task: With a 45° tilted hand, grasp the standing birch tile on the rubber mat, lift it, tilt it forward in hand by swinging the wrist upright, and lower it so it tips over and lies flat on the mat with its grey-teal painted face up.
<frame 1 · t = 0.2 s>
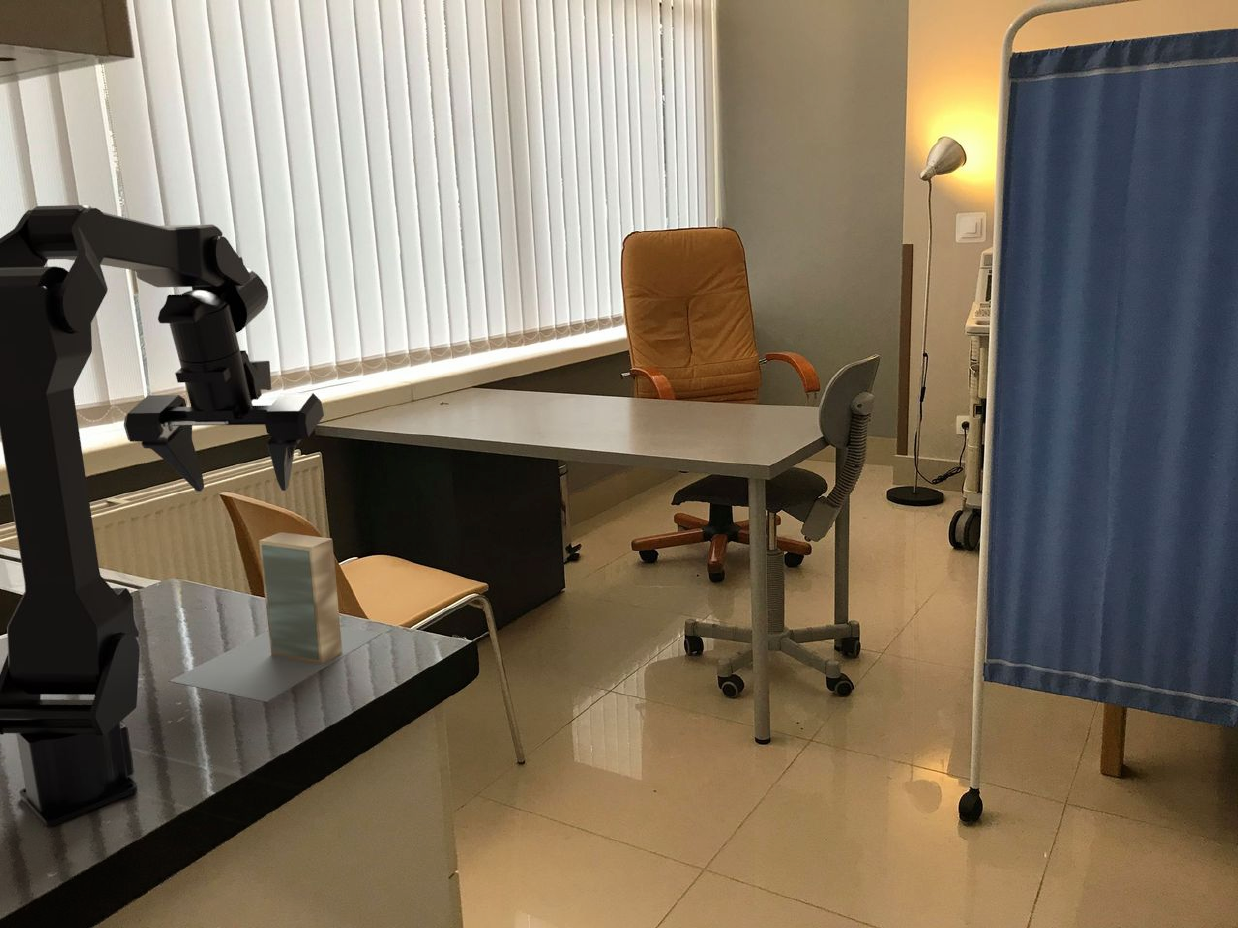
hand: (243, 489, 106), 15 cm above the counter, tool tilted 15°, fingers open, 9 cm apart
tile: (306, 653, 101), resting on mat
mat: (281, 659, 100), on the counter
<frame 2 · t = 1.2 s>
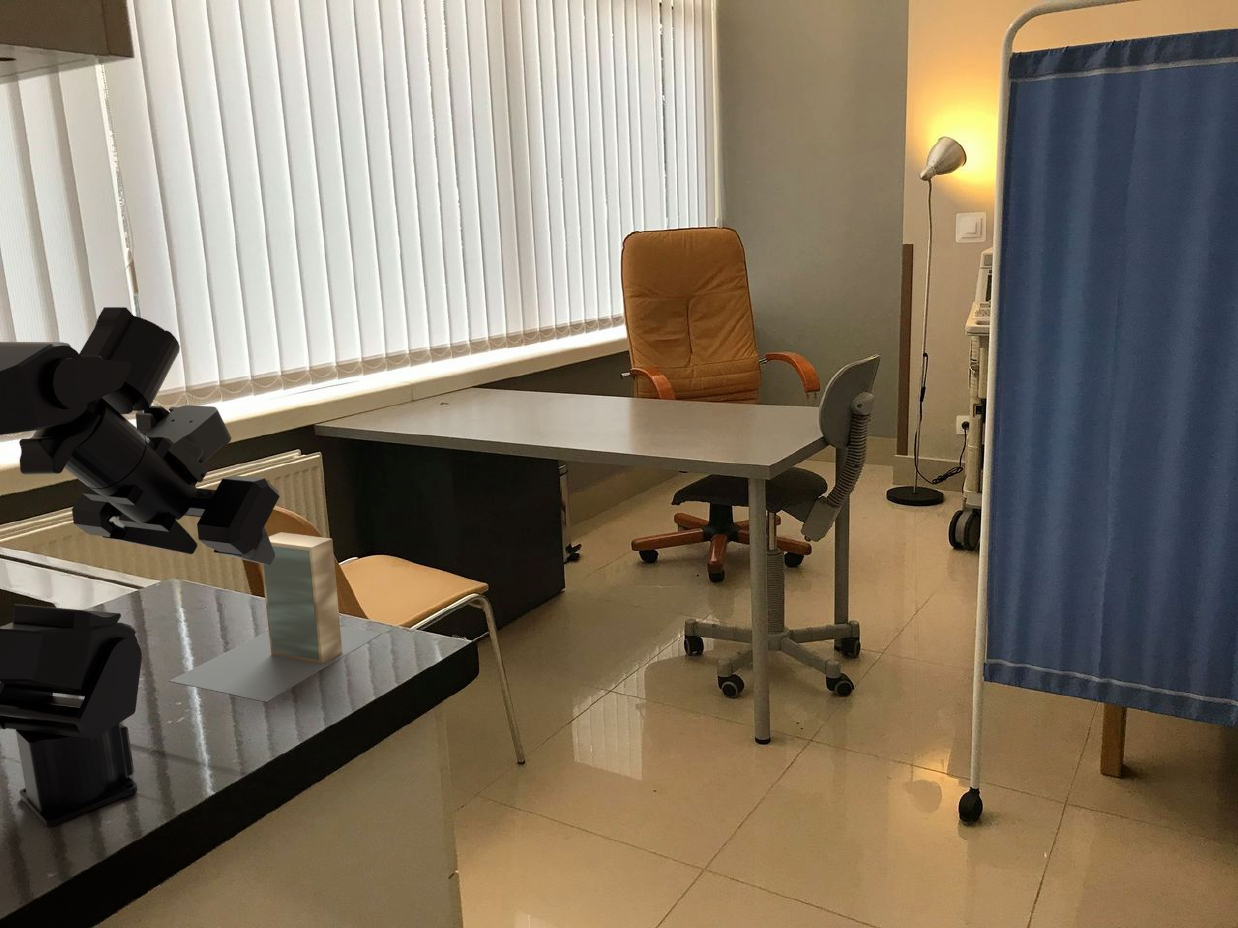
hand: (232, 554, 91), 13 cm above the counter, tool tilted 45°, fingers open, 9 cm apart
nothing on the counter moved.
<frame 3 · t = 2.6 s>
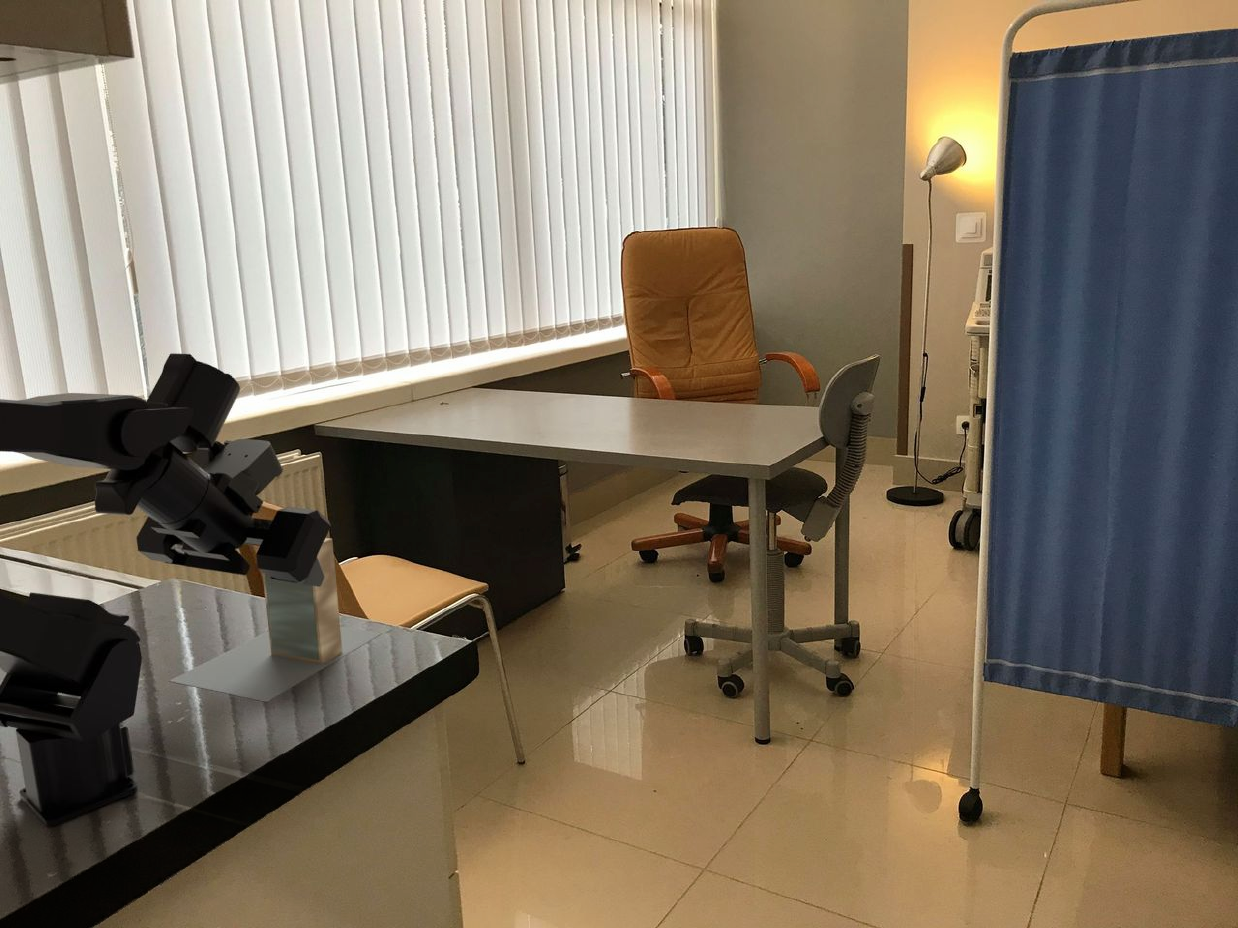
hand: (283, 576, 97), 9 cm above the counter, tool tilted 45°, fingers open, 9 cm apart
nothing on the counter moved.
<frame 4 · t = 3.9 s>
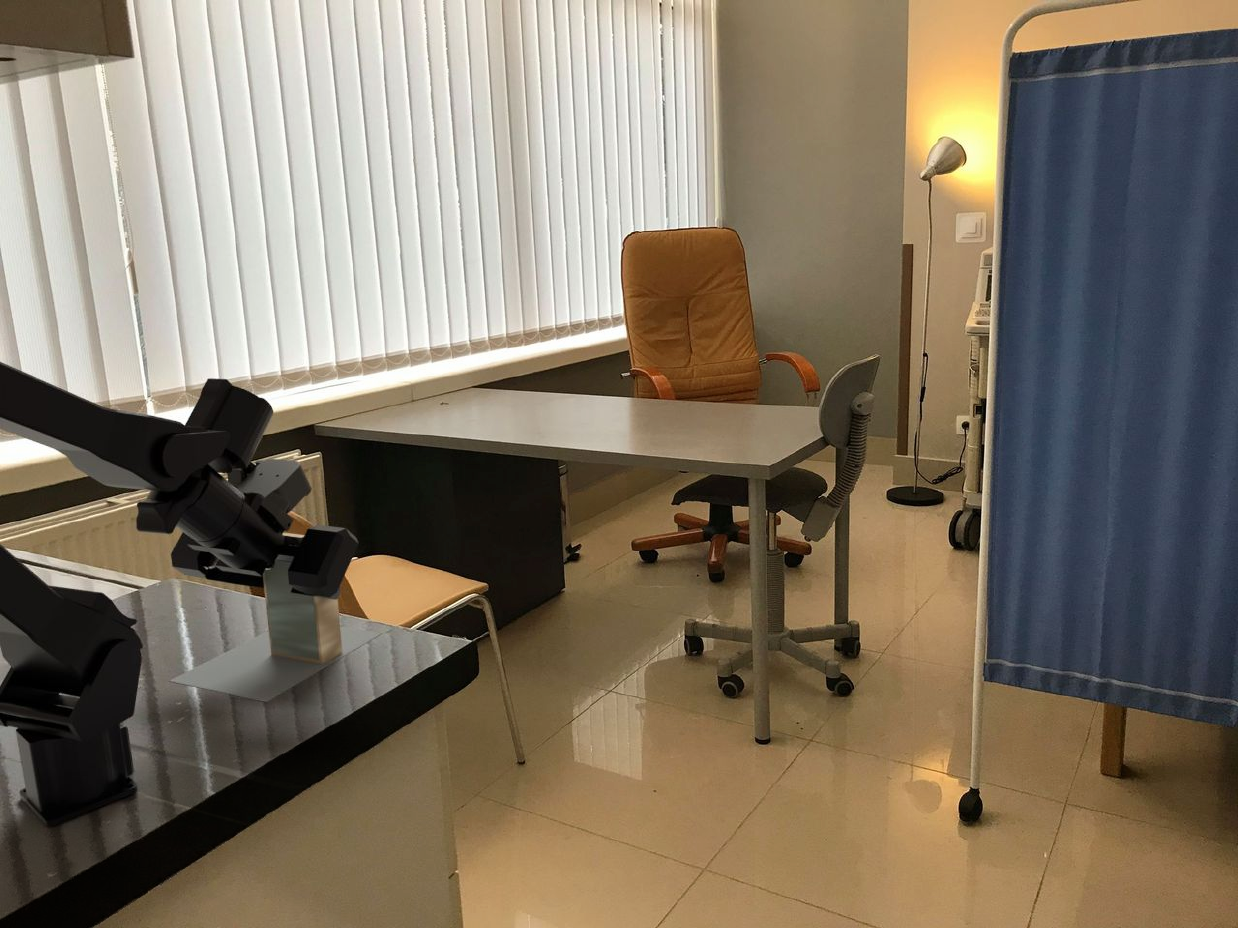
hand: (310, 590, 101), 7 cm above the counter, tool tilted 45°, fingers closed on tile, 6 cm apart
tile: (306, 653, 101), resting on mat, touching gripper
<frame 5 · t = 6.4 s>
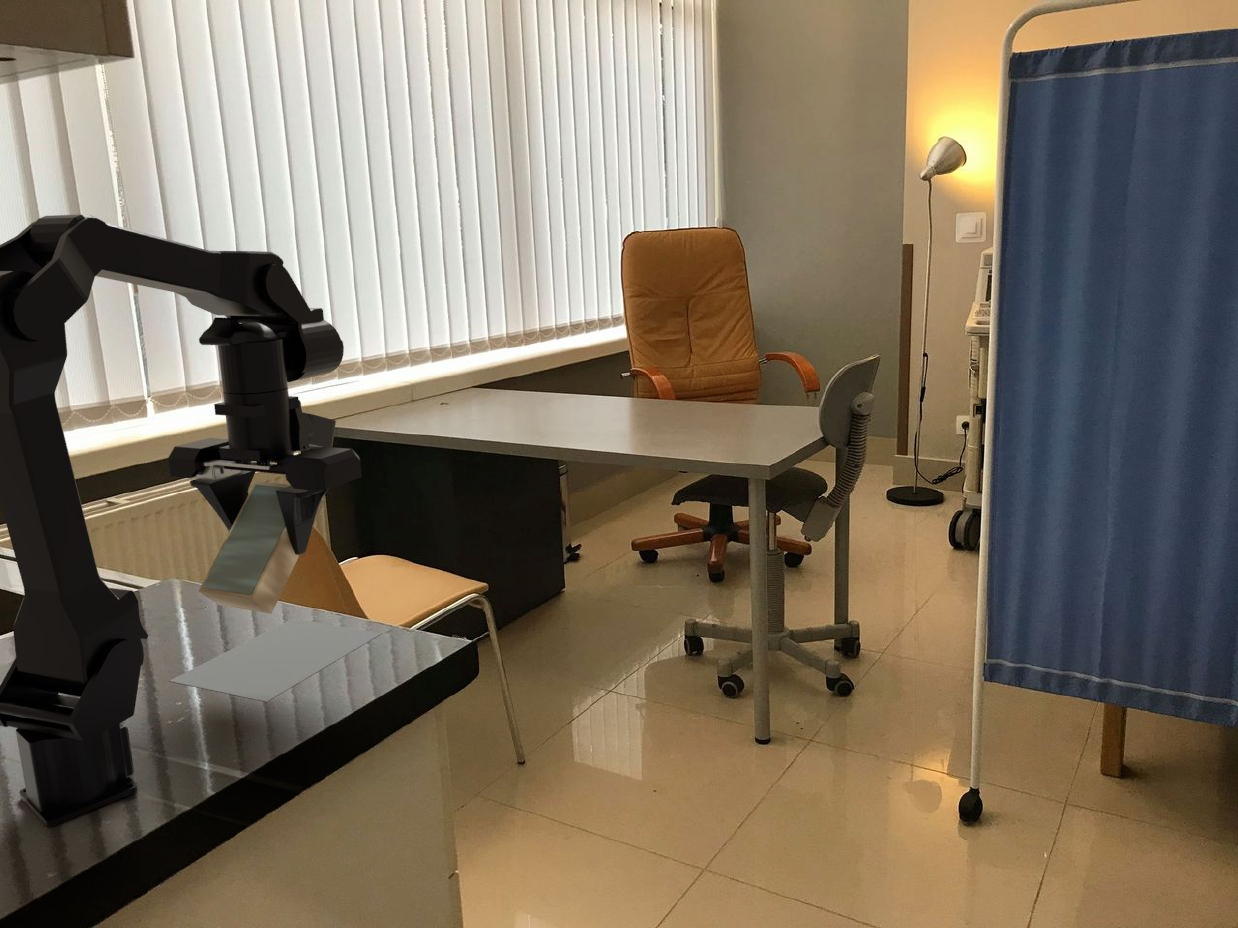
hand: (272, 549, 96), 12 cm above the counter, tool pointing down, fingers closed on tile, 6 cm apart
tile: (234, 602, 92), point 9 cm above the counter, tilted 45°, touching gripper
when the fingers open (6 cm above the counter, at t = 8.5 s): tile moves 2 cm and tips over, resting on mat.
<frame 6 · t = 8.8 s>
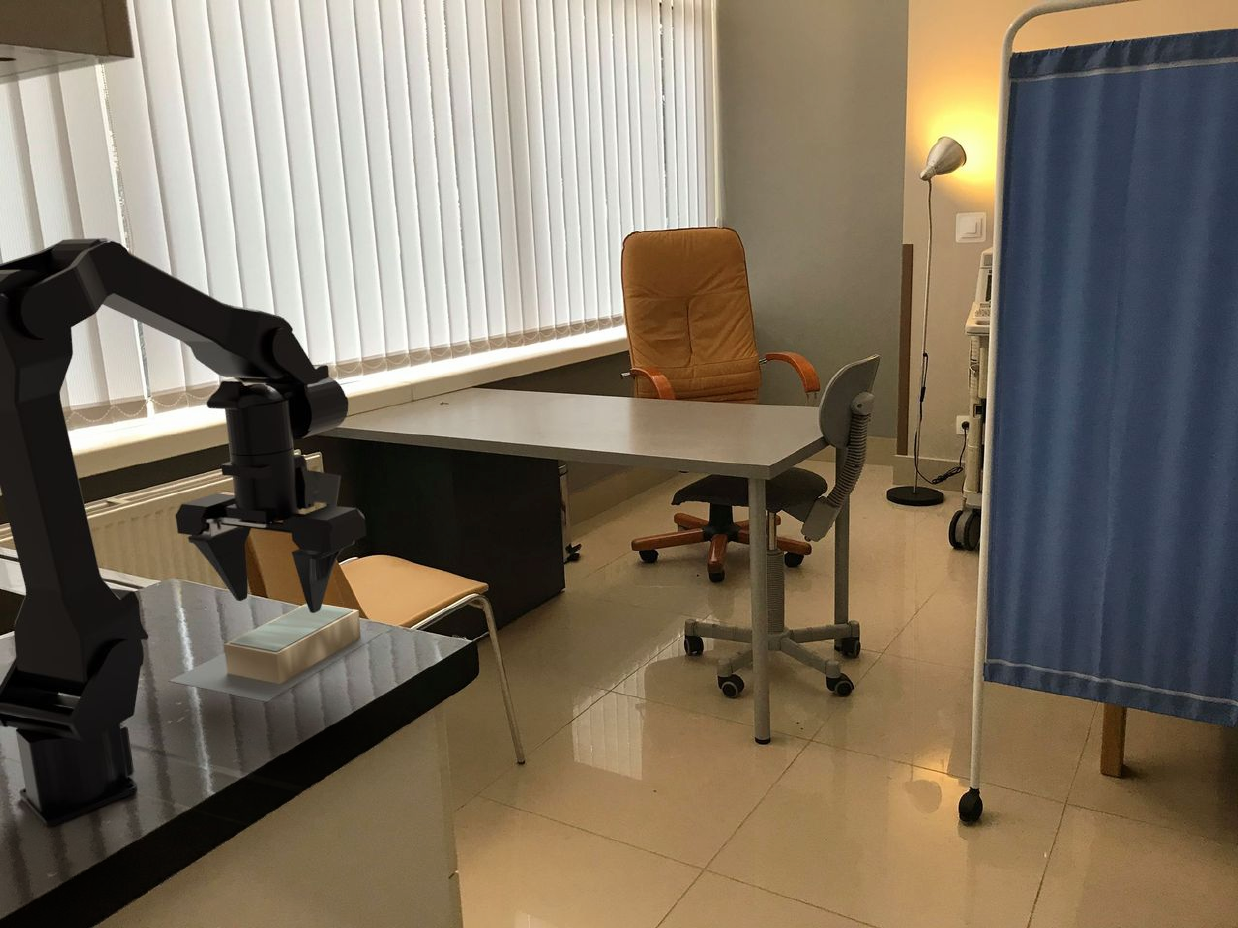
hand: (278, 605, 98), 6 cm above the counter, tool pointing down, fingers open, 9 cm apart
tile: (251, 663, 95), point 2 cm above the counter, tilted 90°, touching mat
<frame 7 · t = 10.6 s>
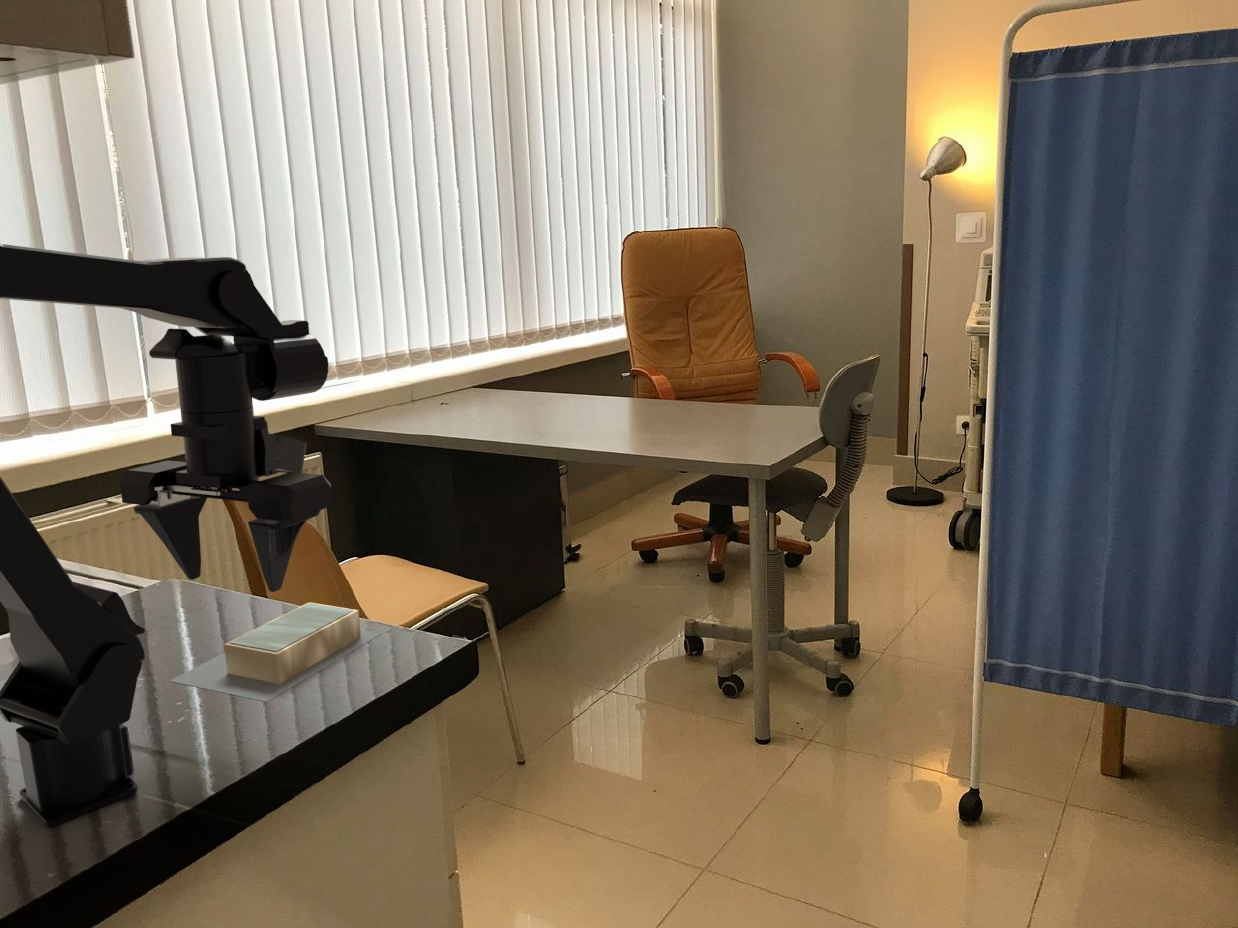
hand: (234, 584, 88), 12 cm above the counter, tool pointing down, fingers open, 9 cm apart
nothing on the counter moved.
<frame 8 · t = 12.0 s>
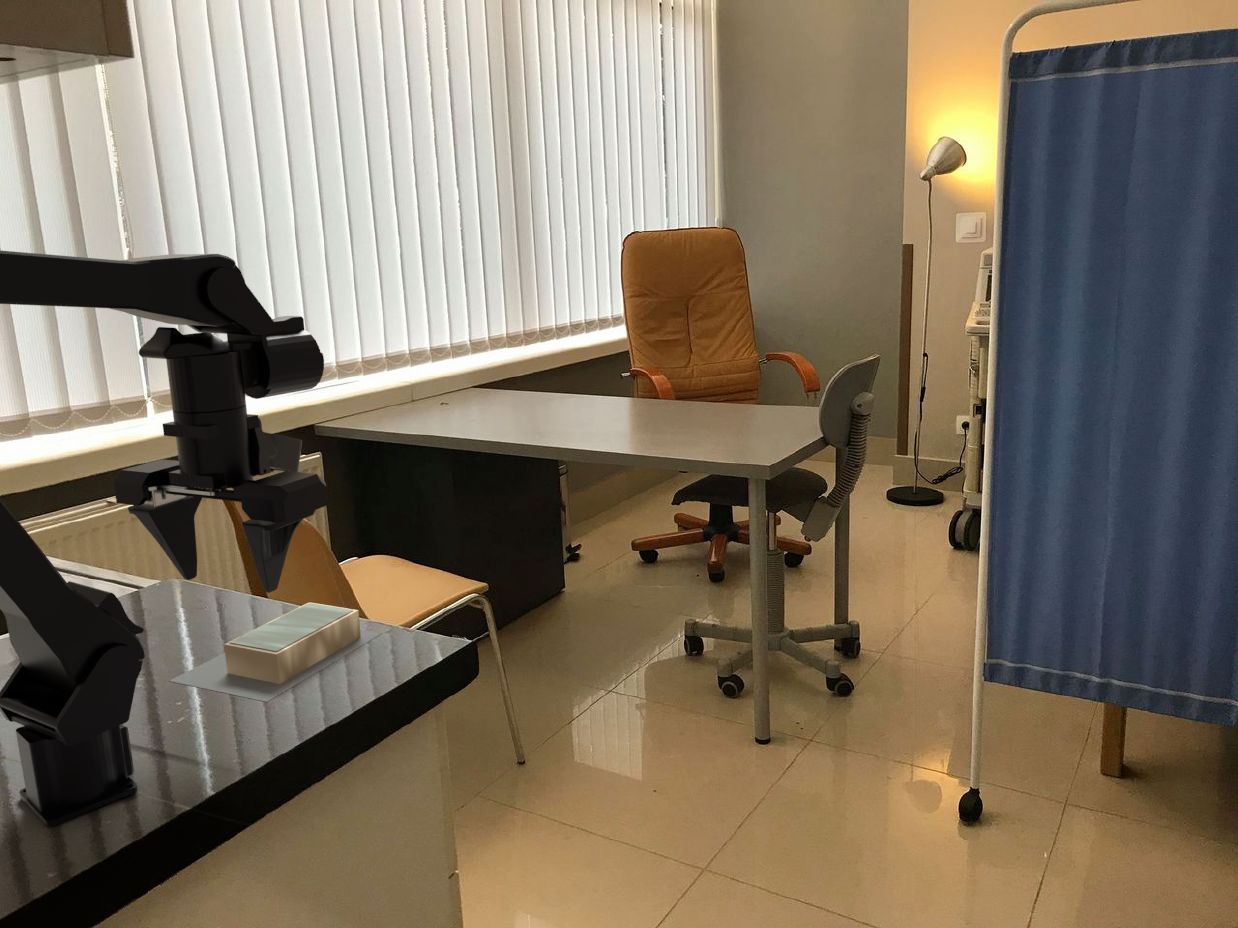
hand: (230, 584, 87), 12 cm above the counter, tool pointing down, fingers open, 9 cm apart
nothing on the counter moved.
at the end: tile tilted 90°; tile inside the target area on the mat (4.2 cm from its centre), point 1.9 cm above the mat's base; the gripper is holding nothing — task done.
